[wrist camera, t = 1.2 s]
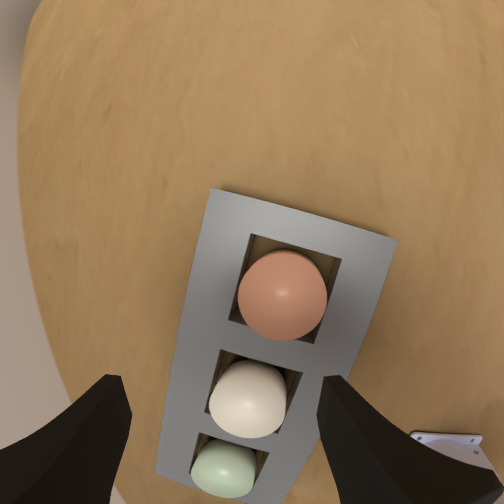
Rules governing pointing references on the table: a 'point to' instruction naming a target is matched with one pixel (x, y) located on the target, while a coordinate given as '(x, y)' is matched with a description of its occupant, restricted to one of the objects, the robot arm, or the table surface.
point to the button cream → (249, 399)
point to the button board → (257, 346)
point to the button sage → (224, 469)
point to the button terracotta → (282, 295)
